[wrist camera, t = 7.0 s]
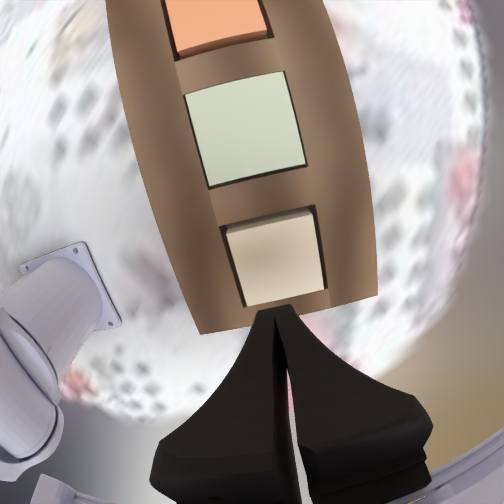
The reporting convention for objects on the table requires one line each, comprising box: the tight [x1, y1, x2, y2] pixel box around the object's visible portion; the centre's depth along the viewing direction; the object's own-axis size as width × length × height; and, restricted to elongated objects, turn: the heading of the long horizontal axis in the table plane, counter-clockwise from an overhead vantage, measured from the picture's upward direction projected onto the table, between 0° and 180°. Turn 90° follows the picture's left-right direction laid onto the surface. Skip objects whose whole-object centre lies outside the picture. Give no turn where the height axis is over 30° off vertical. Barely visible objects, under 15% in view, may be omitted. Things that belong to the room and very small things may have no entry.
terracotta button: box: [165, 0, 267, 59], centre depth 12 cm, size 5×5×2 cm
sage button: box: [185, 71, 305, 186], centre depth 14 cm, size 5×5×2 cm
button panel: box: [105, 0, 378, 335], centre depth 15 cm, size 13×25×2 cm, turn 14°
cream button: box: [226, 206, 324, 307], centre depth 18 cm, size 5×5×2 cm
